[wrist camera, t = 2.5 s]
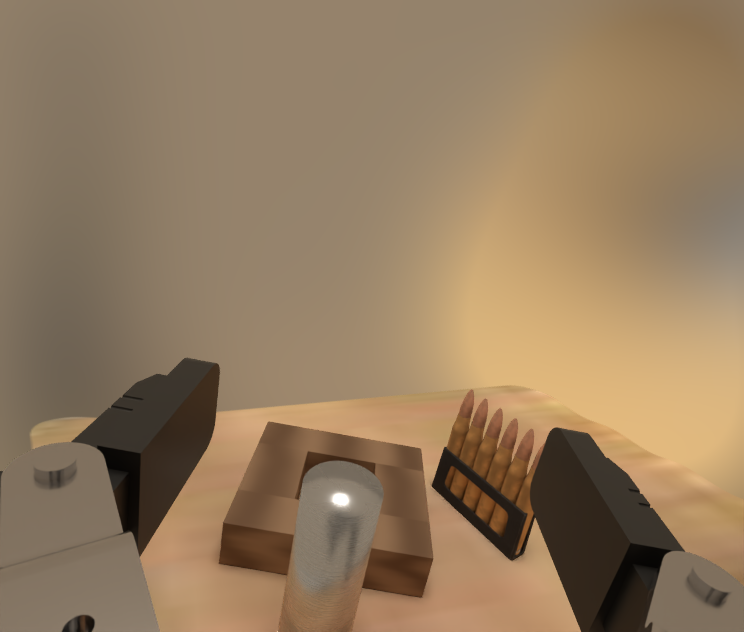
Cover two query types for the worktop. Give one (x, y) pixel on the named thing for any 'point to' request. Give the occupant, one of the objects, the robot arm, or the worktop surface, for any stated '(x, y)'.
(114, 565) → the robot arm
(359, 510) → the steel pin
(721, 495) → the worktop surface
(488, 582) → the worktop surface
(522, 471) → the ammunition clip
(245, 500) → the walnut socket block
